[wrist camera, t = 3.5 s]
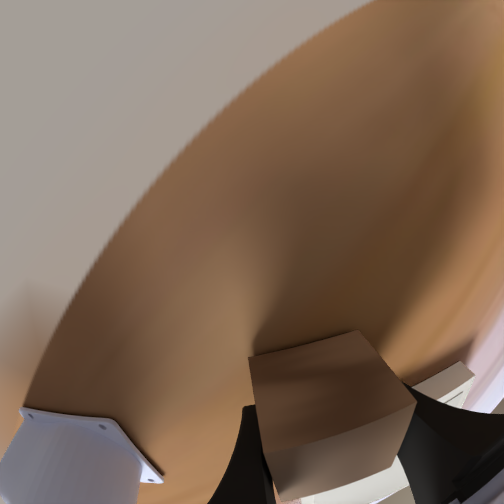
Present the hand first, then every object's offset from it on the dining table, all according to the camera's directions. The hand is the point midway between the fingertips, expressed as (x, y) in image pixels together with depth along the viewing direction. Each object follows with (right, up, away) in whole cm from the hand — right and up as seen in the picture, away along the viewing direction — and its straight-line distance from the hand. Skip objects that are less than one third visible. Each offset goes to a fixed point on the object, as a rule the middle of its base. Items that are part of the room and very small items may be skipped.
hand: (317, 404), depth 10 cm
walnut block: (0, 0, +1) cm, 1 cm away
